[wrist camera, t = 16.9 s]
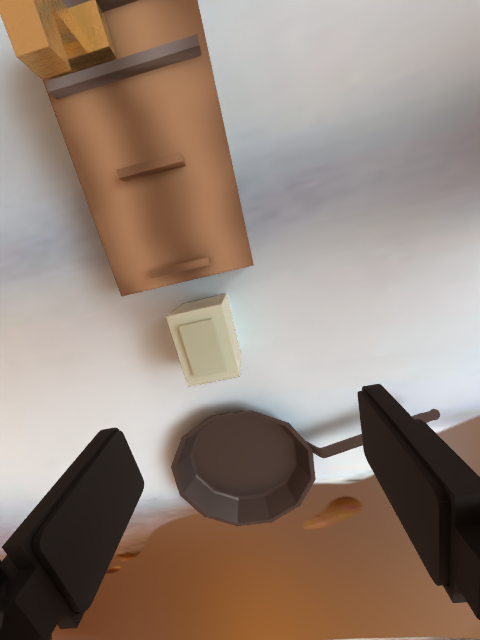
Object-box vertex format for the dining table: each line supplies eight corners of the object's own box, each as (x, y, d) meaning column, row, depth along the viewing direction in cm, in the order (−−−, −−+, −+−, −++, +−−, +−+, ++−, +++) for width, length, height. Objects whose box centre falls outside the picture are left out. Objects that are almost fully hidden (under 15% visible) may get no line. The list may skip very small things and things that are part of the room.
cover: (226, 293, 26) (220, 305, 20) (240, 351, 28) (239, 379, 22) (182, 303, 26) (163, 318, 20) (199, 359, 28) (187, 389, 22)
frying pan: (152, 426, 31) (140, 449, 27) (395, 330, 27) (419, 341, 23) (213, 520, 35) (209, 551, 31) (431, 448, 31) (456, 474, 27)
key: (87, -41, 15) (1, -206, 10) (130, 105, 17) (78, 36, 12) (16, -16, 16) (-105, -162, 10) (66, 124, 18) (-13, 65, 12)
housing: (194, -4, 20) (173, -114, 14) (251, 263, 25) (254, 265, 19) (60, 39, 20) (-12, -46, 15) (144, 288, 26) (115, 298, 20)
